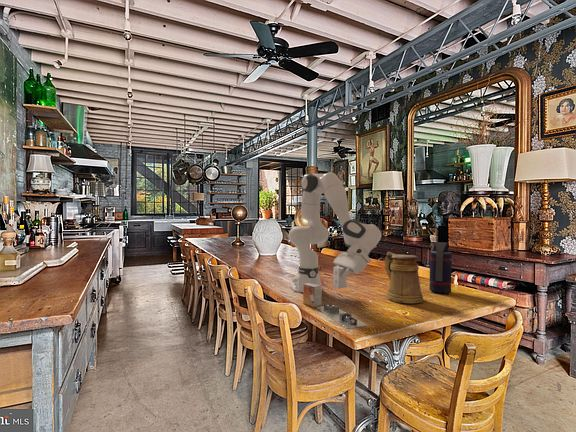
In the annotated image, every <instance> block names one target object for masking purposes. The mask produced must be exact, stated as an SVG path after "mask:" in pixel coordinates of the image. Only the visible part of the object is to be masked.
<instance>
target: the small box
mask: <svg viewBox="0 0 576 432" xmlns="http://www.w3.org/2000/svg"><path fill="white" fill-rule="evenodd" d="M322 287H323V285H322V284H321V285H318V284H314V283H306V284H304V292H302V293H303V297H302V298H303V300H302V301H303V302H302V304H304V305H307V306H309V307H313V308H316V307H321V306H322V296H323V295H322V291H323V289H322Z"/></svg>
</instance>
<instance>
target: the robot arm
mask: <svg viewBox="0 0 576 432" xmlns="http://www.w3.org/2000/svg"><path fill="white" fill-rule="evenodd" d="M300 181H301V182H300V186H301V190H303V192H302V199H301V209H300V210H301V211H300V214H301V215H300V216H301V217H302V218H303V219H304V220H305V221H307V224H308V225H306V226H305V225H301V226H294V227H292V228H290V230H289V232H288V239H289V241H290V243H291V244H292V245H294V246H295V247H296V249H297V252H298V254H299V255H298V257H299V266H298V270H297V273H296V275H295V276H294V277H293V278H292V283H290V285H289V286H290V288H291V289H292V290H293V292H296V293H297V292H299V293H304V284H306V283H314V284H318V285H322V282H321V276H320V274H319V271H320V269H319V259H318V258H319V256H318V253H317V252H316V251H315V250H313V249H312V248H311V245H319V244H323V243H325V242H327V241H328V239H329V236H330V235H329V230H328V228H327V227H325V226H324V224H323V222H322V220H321V196H322V194H324V197H325V199H326V200H327V203H328V204H329V206H330V207H331V209H332V210H333V212H334V214H335V215H336V218H337V219H338V222H339V224H340V226H341V228H342V235H343V242H344V245H345V246H346V247H347V248H348V249H347V250H346V251H342V252H341V253H339V254H338V255H337V256H336V258H334V260H333V264H334V265H335V266H342V267H345V268H346V271H345V272H344V273H343V272H342V274H341V275H340V276H341V277H342V278H345V277H346V278H347V276H348V275H350V274H351V273H353V274H357V275H359V274H361V273H362V272H363V271H364V269H365V268H367V265H368V264H370V263H371V261H372V259H371V258H370V257H369V255H370V253H371V251H372V250H374V249H375V247H377V245H378V243H379V242H380V241H381V239H382V235H383V234H382V231H381V230H380V229H379V227H378V226H377V225H375V224H373V223H370V224H367V223H363V222H360V221H358V220H356V219H352V217H351V215H350V212H349V204H348V201H349V200H348V195H347V191H346V188H345V186H344V184H343V182H342V181H341V180H340V178H339V176H338V175H337V174H336V173H334V172H330V171H329V172H326V173H307V174H304V175H303V176H302V178H301V180H300ZM322 290H323V286H322Z"/></svg>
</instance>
